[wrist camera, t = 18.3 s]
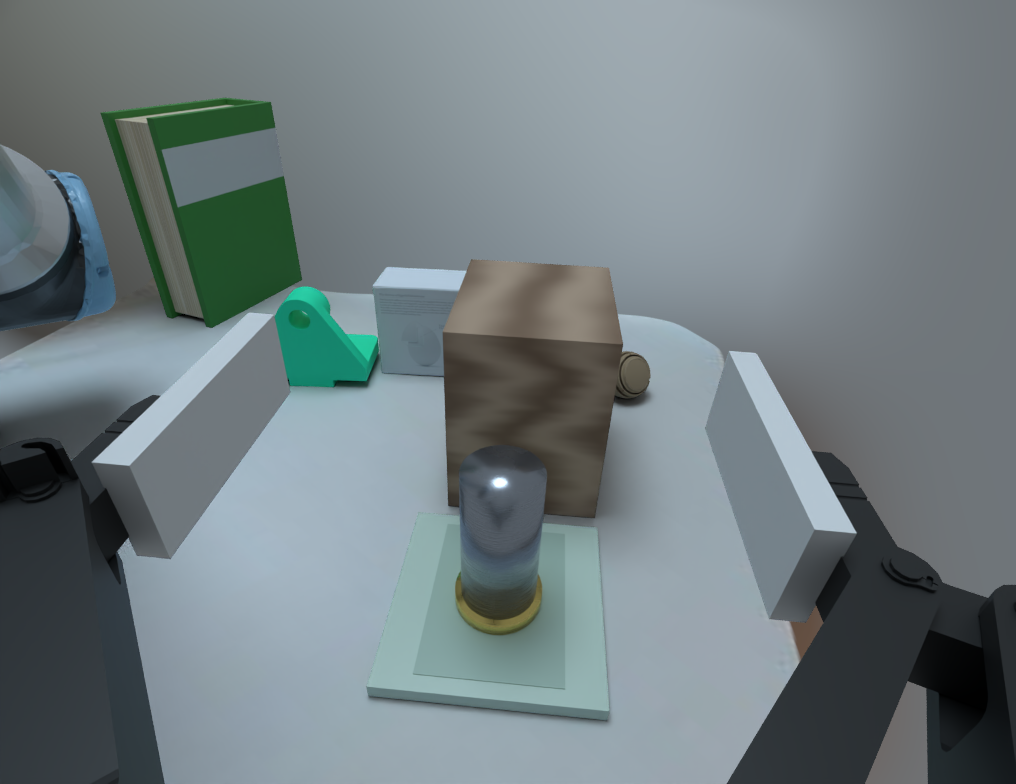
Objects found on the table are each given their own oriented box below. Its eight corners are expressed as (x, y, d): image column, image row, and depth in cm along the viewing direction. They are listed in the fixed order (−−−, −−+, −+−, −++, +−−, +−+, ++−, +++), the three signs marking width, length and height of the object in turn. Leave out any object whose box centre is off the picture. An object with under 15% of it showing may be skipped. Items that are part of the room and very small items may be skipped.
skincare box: (478, 351, 69) (479, 268, 63) (472, 379, 63) (472, 291, 57) (393, 346, 69) (386, 263, 63) (380, 373, 64) (370, 286, 58)
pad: (368, 695, 33) (366, 685, 33) (419, 521, 45) (418, 511, 44) (607, 720, 33) (609, 710, 32) (595, 536, 44) (597, 526, 44)
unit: (448, 505, 47) (442, 332, 38) (471, 409, 58) (471, 259, 49) (601, 518, 46) (631, 344, 37) (593, 418, 58) (615, 268, 49)
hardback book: (211, 327, 71) (152, 118, 58) (167, 317, 73) (100, 112, 60) (302, 279, 85) (270, 102, 72) (262, 271, 87) (224, 97, 74)
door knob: (598, 403, 60) (604, 362, 57) (602, 379, 64) (608, 340, 61) (646, 410, 59) (654, 369, 56) (646, 385, 63) (654, 346, 61)
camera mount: (381, 354, 67) (373, 272, 62) (367, 389, 61) (357, 301, 55) (280, 351, 67) (262, 268, 62) (256, 386, 61) (234, 297, 55)
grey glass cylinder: (448, 630, 36) (443, 504, 30) (462, 558, 41) (460, 437, 35) (539, 639, 36) (553, 513, 30) (542, 565, 40) (554, 444, 34)
